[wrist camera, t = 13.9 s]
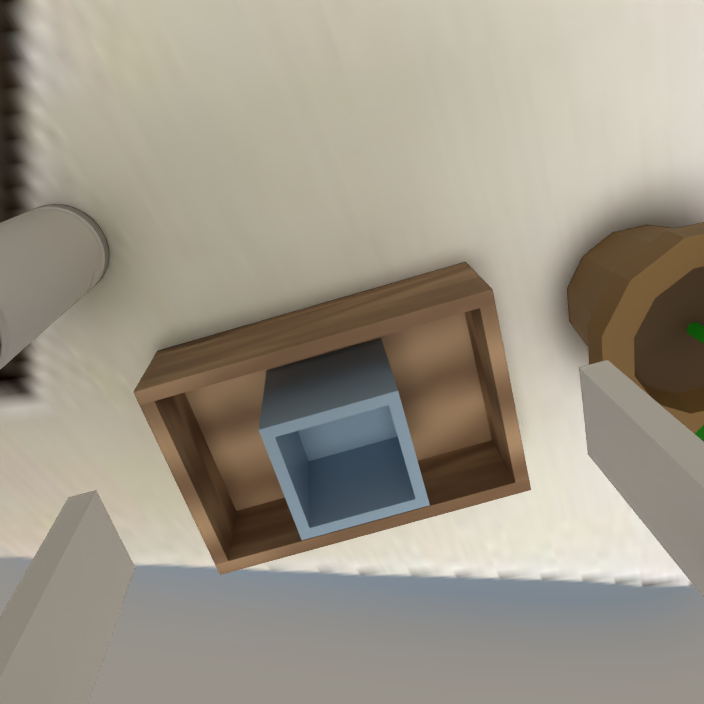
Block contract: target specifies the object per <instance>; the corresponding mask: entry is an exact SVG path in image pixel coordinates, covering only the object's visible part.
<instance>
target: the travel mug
mask: <svg viewBox="0 0 704 704" xmlns="http://www.w3.org/2000/svg"><path fill="white" fill-rule="evenodd" d="M108 261H109V249H108V245H107V241H106V239H105V237H104V235H103V232H102V231H101V229H100V228H99V227H98V225H97V224H96V223H95V222H94V221H93V220H92V219H91V218H90V217H89V216H87V215H86V214H84V213H83V212H81V211H79V210H77V209H75V208H73V207H69V206H65V205H57V204H51V205H44V206H41V207H38V208H35V209H33V210H30V211H28V212H26V213H23V214H21V215H18V216H16V217H13V218H11V219H8V220H6V221H4V222H1V223H0V369H1V368H3V367H4V366H5V365H6V364H7V363H8V362H9V361H10V360H11V359H13V358H14V357H15V356H16V355H17V354H18V353H19V352H20V351H22V350H23V349H24V348H25V347H26V346H27V345H28V344H29V343H31V342H32V341H33V340H34V339H35V338H36V337H37V336H38V335H39V334H41V333H42V332H43V331H44V330H45V329H46V328H47V327H48V326H50V325H51V324H52V323H53V322H54V321H55V320H56V319H57V318H59V317H60V316H61V315H62V314H63V313H64V312H65V311H66V310H67V309H69V308H70V307H71V306H72V305H73V304H74V303H75V302H76V301H78V300H79V299H80V298H81V297H82V296H83V295H84V294H85V293H87V292H88V291H89V290H90V289H91V288H92V287H93V286H94V285H95V284H97V283H98V282H99V281H100V280H101V278H102V277H103V275H104V274H105V272H106V269H107V267H108Z"/></svg>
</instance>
